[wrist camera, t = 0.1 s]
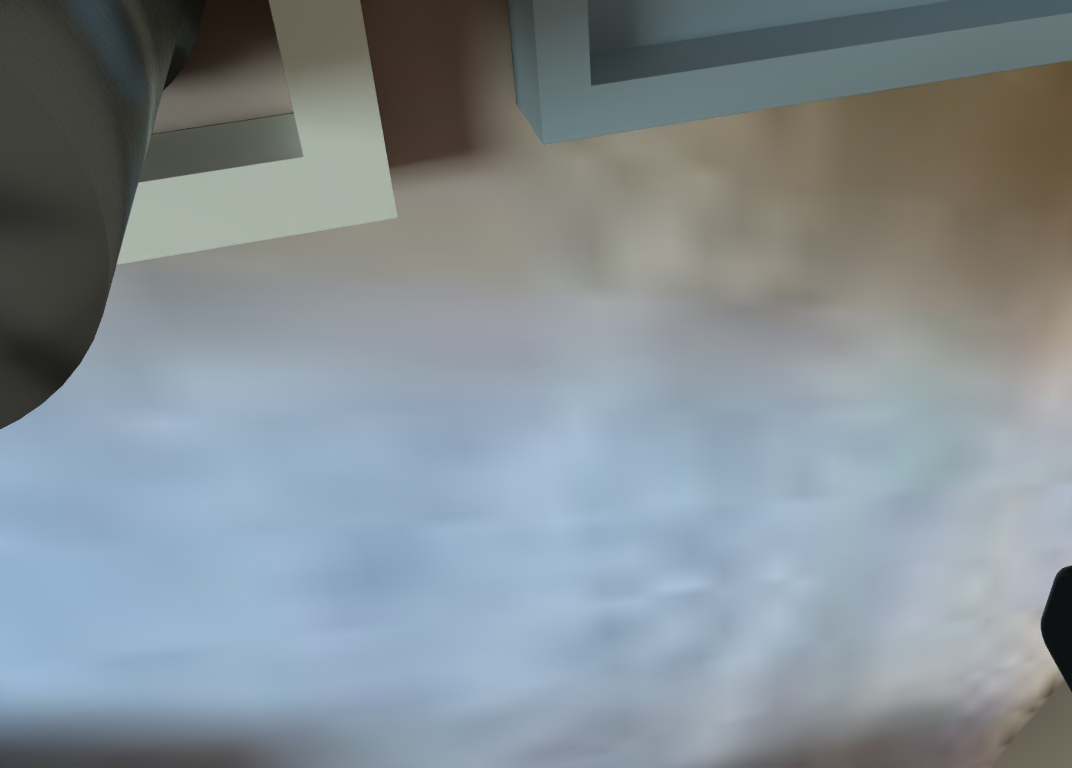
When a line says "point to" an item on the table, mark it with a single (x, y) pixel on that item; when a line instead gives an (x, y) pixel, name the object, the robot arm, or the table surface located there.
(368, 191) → the collar block
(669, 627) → the table surface
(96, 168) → the strut
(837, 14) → the tray
